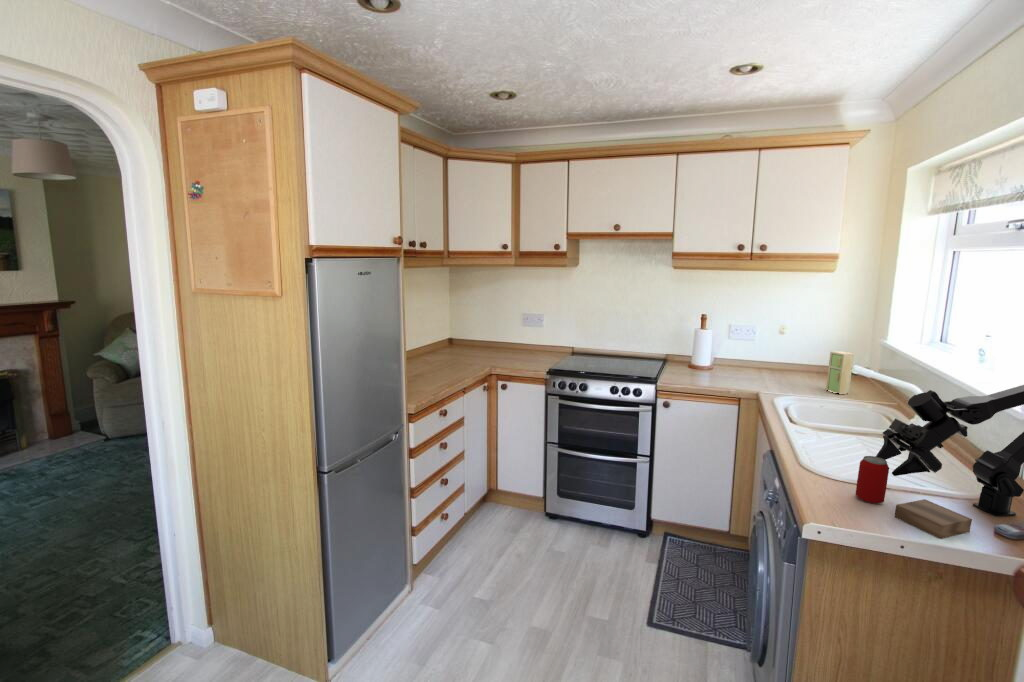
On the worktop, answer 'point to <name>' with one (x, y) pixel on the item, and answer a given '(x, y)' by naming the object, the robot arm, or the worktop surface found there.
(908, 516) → the walnut block
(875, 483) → the beverage can
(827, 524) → the worktop surface
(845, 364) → the toy refrigerator
